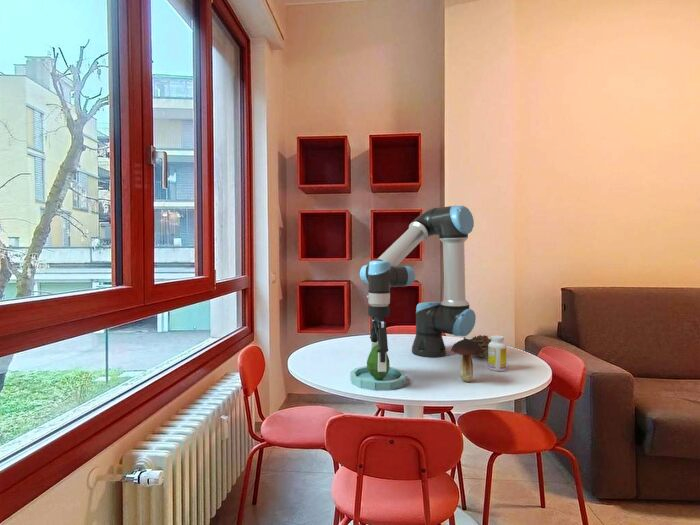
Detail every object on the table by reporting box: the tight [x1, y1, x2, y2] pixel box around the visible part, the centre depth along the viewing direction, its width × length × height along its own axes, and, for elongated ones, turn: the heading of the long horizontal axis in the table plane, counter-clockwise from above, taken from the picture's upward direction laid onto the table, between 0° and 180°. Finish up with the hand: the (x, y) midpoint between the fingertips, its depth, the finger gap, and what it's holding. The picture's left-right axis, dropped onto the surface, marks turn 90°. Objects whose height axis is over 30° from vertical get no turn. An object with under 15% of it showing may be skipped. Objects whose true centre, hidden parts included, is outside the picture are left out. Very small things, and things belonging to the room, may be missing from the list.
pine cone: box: [463, 334, 492, 358], centre depth 171 cm, size 22×10×10 cm, turn 19°
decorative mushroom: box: [450, 338, 483, 383], centre depth 135 cm, size 11×11×15 cm
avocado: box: [366, 345, 391, 379], centre depth 135 cm, size 8×8×12 cm
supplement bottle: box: [487, 335, 507, 372], centre depth 150 cm, size 7×7×13 cm
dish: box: [349, 365, 407, 391], centre depth 135 cm, size 19×19×2 cm
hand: (378, 365), depth 135 cm, fingers open, 13 cm apart
